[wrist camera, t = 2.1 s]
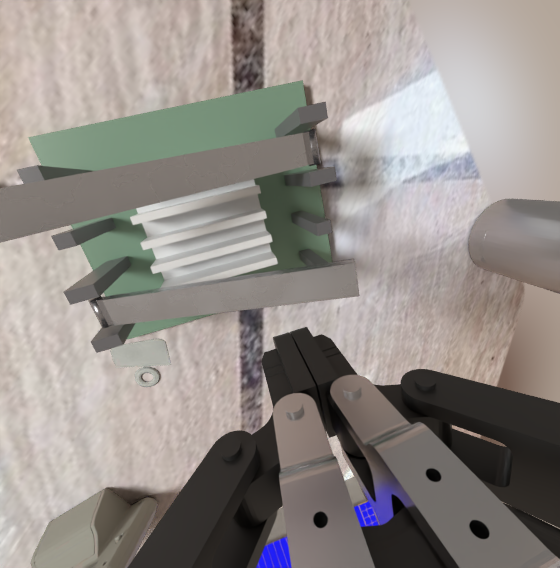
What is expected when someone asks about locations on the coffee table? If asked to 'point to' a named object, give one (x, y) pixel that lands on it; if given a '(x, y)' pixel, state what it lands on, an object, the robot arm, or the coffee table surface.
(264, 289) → the strap
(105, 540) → the digital clock
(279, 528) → the blue ribbed slab
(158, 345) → the key tag
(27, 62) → the coffee table surface
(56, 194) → the strap
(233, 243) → the heatsink board
